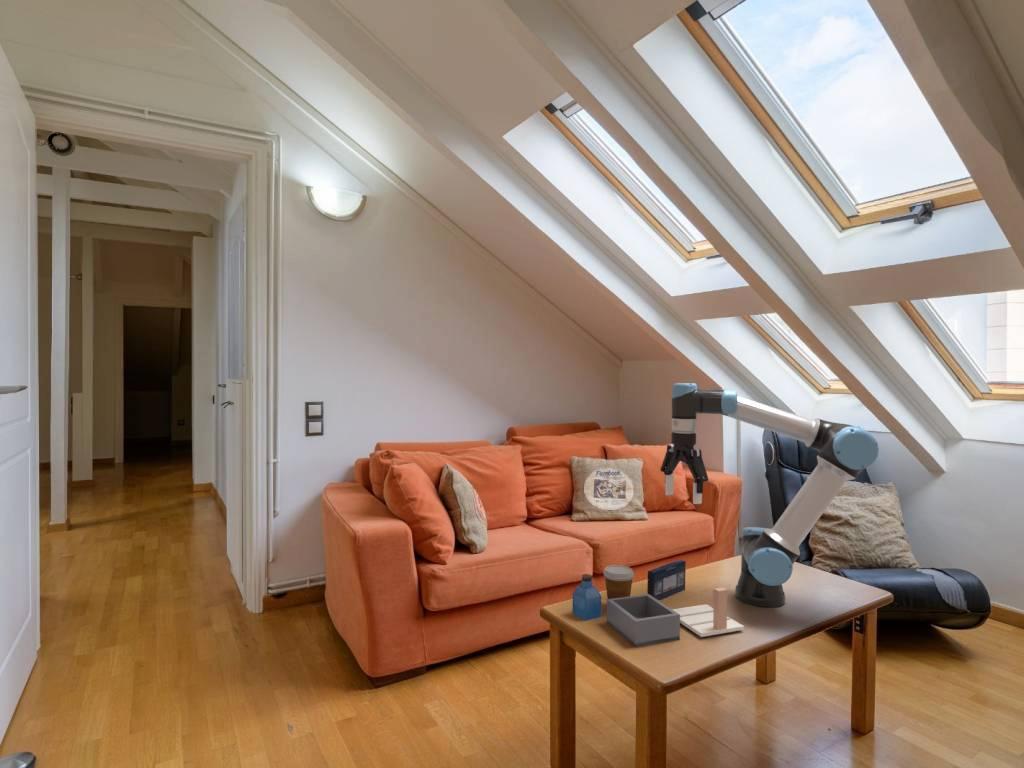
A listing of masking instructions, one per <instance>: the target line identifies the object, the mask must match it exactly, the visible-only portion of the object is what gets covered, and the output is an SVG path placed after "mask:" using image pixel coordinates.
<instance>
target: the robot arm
mask: <svg viewBox="0 0 1024 768" xmlns="http://www.w3.org/2000/svg"><path fill="white" fill-rule="evenodd" d="M671 387H672V389H671V391H672V392H671V431H672V432H671V439H670V440H671V444H667V445H666V452H665V455H664V458H663V460H662V464H661V466H660V472H662V473H663V474H664V485H665V487H664V488H665V492H664V495H665V496H674V493H675V492H674V491H675V489H674V487H675V486H674V485H675V474H674V471H675V470H676V467H678V464H679V463H680V462H682V463H685V464H686V465H687V467H688V469H689V472H690V473H691V475H692V478H693V479H694V481H693V483H692V485H693V486H692V487H693V489H692V504H693V505H701V504H702V503H703V493H704V483H705V482H709V477H708V473H707V470H706V467H705V462H704V460H703V457H702V455H703V454H702V449H695V448H694V446H695V445H696V444H697V433H696V431H698V430H697V414H712V415H723V416H725V417H728V418H732V419H735V420H736V421H740V422H743V423H746V424H749V425H752V426H754V427H758V428H761V429H764V430H767V431H770V432H773V433H775V434H778V435H782V436H785V437H787V438H790V439H794V440H796V441H799V442H801V443H804V444H805V446H806V447H807V448H811V449H813V450H815V451H817V452H818V454H817V456H816V460H817V465H816V466H815V468H814V469H813V471H812V472H811V473H810V475H809V476H808V477H807V479H806V480H805V482H804V483H803V485H802V486H801V487H800V489H799V490H798V492H797V493H796V494H795V496H794V497H793V499H792V500H791V501H790V503H789V504H788V505H787V507H786V508H785V509H784V512H783V513H782V514H781V516H780V517H779V518H778V520H777V521H776V522H775V524H774V525H773V527H772V528H770V527H769V528H767V527H758V526H749V527H747V526H746V527H743V529H742V530H741V535H740V537H741V560H740V562H741V563H740V565H741V568H740V569H741V570H740V574H739V578H738V580H737V581H738V582H737V584H736V585H735V588H734V589H735V591H734V594H735V597H736V598H737V599H738V600H739V601H741V602H742V603H746V604H748V605H751V606H752V605H753V606H756V607H763V608H777V607H781V606H784V604H785V603H786V593H785V591H784V588H783V584H785V583H786V582H787V581H788V580H790V578H791V576H792V574H793V569H794V568H793V567H794V564H795V562H796V560H797V559H798V558H799V557H800V556H801V550H800V546H801V545H802V542H803V541H804V540H805V539H806V537H807V535H808V534H809V533H810V531H812V528H814V526H815V525H816V523H817V522H818V521H819V519H820V518H821V517H822V515H823V514H824V512H825V511H826V510H827V508H828V507H829V506H830V504H831V503H832V501H833V500H834V498H835V497H836V496H837V494H838V493H839V492H840V490H841V489H842V488H843V486H844V485H845V483H846V482H848V481H851V480H852V481H853V480H856V478H857V477H858V476H859V475H860V473H861V472H862V470H864V469H867V468H869V467H870V466H872V465H873V464H874V463H875V462H876V460H877V458H878V456H879V450H880V448H879V445H878V442H877V441H878V440H877V439H876V438H875V437H874V435H873V434H871V432H869V431H868V430H866V429H864V428H862V427H861V426H853V425H851V424H847V423H839V422H832V421H827V420H825V419H821V418H814V419H810V418H807V417H806V416H805V417H804V416H801V415H799V414H795V413H792V412H789V411H786V410H782V409H780V408H777V407H774V406H770V405H767V404H764V403H761V402H758V401H755V400H752V399H748V398H745V397H742V396H740V395H738V392H737V391H736V390H734V389H719V388H716V387H712V388H708V389H698V385H697V384H696V383H695V382H693V383H691V382H688V383H687V382H677V383H674V384H673V385H672V386H671Z"/></svg>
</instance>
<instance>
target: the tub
mask: <svg viewBox="0 0 1024 768" xmlns="http://www.w3.org/2000/svg"><path fill="white" fill-rule="evenodd" d="M606 624H607V625H609V626H610V627H611V628H612V629H613V630H614V631H615V632H616V633H618V634H619V635H620V636H621V637H623V638H624V639H625V640H626V641H627V642H629V643H630V645H632V646H633V647H635V648H638V647H644V646H645V647H646V646H650V645H657V644H662V643H668V642H674V641H680V639H681V638H680V637H681V636H680V634H681V631H680V630H681V627H680V626H681V625H680V624H681V623H680V614H678V613H677V612H675V611H674V610H672V608H670V607H669V606H667V605H666V604H664V603H663V602H662V601H661V600H660V601H658V600H657V599H655V598H654V597H652V596H651V595H649V594H647V593H644V594H639V595H638V594H637V595H630V596H628V597H621V598H613V599H606Z"/></svg>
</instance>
